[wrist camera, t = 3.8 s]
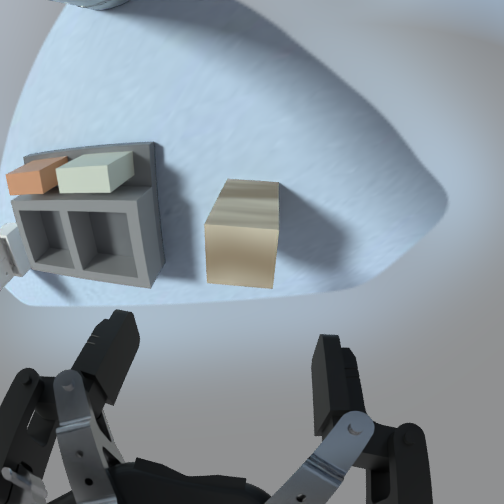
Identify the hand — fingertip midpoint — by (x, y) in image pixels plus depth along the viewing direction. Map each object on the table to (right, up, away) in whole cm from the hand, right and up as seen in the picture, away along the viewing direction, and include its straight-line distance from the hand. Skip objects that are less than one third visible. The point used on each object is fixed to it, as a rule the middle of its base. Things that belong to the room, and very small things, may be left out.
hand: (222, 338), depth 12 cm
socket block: (-14, +8, +13) cm, 21 cm away
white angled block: (-28, +5, +16) cm, 33 cm away
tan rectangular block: (+1, +7, +12) cm, 14 cm away
